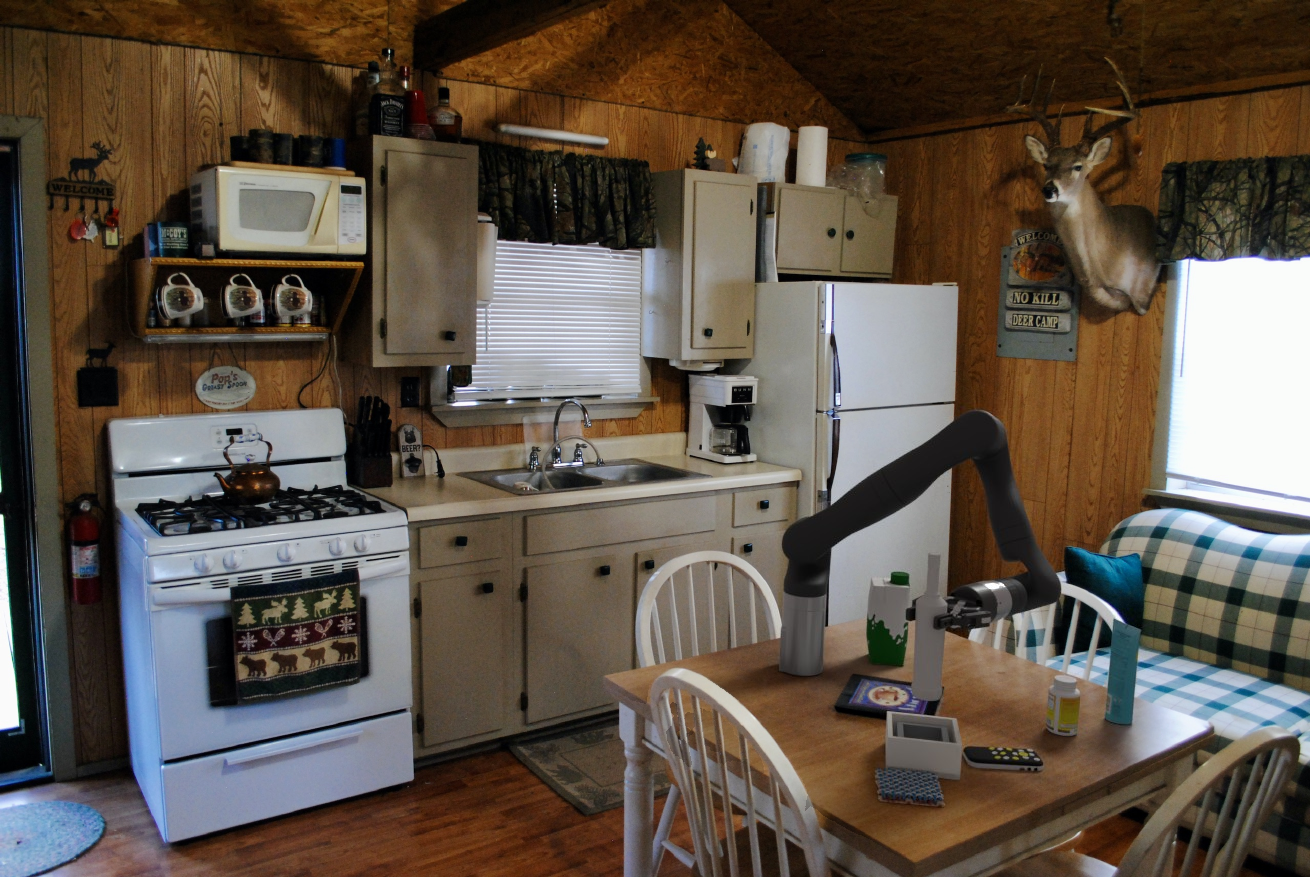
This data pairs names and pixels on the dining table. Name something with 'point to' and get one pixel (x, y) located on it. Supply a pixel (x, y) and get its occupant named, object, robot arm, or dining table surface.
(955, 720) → the walled box
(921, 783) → the woven mat
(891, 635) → the milk carton
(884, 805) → the dining table surface
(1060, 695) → the supplement bottle
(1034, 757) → the remote control
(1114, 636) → the tube
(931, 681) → the bottle
